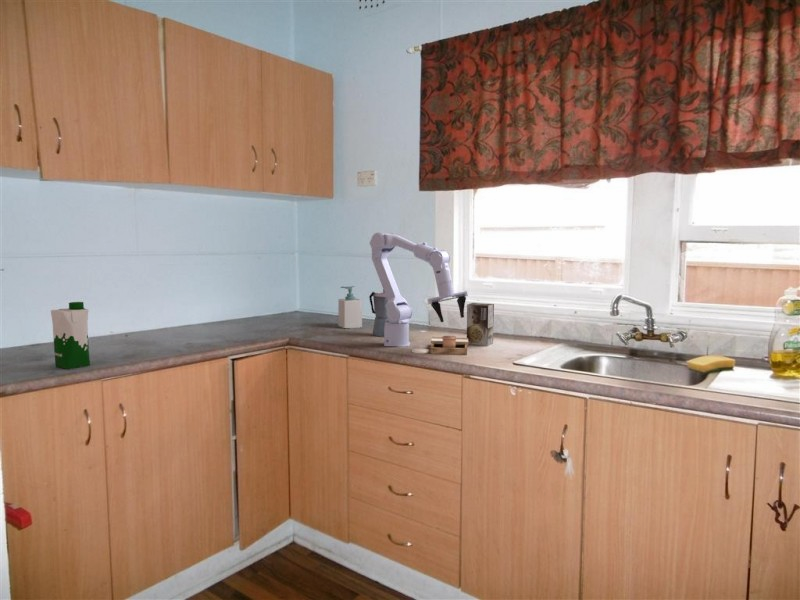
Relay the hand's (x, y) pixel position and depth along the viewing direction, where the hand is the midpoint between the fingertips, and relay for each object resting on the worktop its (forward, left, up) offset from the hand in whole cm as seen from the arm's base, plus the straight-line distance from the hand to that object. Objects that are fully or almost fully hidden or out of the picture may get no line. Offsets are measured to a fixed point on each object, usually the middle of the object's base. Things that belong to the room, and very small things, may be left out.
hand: (452, 319), depth 198 cm
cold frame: (-1, +2, -12) cm, 12 cm away
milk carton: (-118, -41, -12) cm, 126 cm away
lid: (-1, +7, -9) cm, 12 cm away
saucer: (-11, -3, -12) cm, 17 cm away
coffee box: (+11, +16, -12) cm, 23 cm away
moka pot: (-30, +31, -12) cm, 45 cm away
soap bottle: (-48, +50, -12) cm, 71 cm away
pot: (-1, -2, -11) cm, 12 cm away
